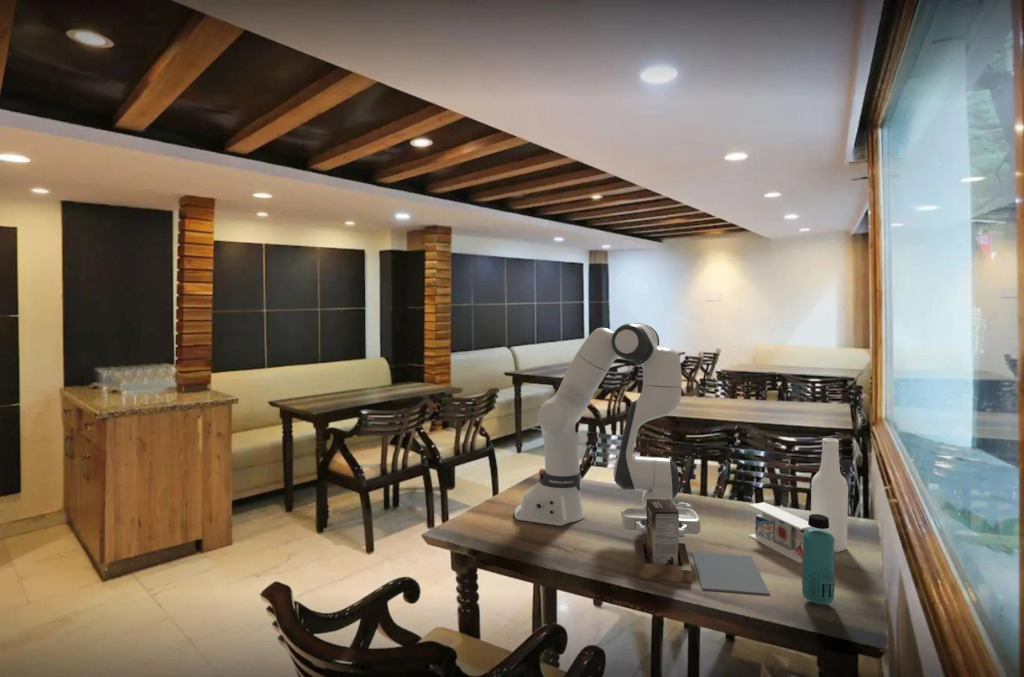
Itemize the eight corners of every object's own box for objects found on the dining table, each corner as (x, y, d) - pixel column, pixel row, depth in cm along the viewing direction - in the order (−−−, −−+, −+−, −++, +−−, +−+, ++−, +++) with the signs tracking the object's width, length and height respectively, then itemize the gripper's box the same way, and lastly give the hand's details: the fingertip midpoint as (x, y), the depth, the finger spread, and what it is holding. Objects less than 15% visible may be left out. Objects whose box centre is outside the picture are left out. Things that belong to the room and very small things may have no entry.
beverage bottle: (822, 614, 122) (824, 524, 121) (794, 600, 128) (796, 514, 127) (840, 606, 125) (842, 518, 124) (812, 593, 131) (814, 509, 130)
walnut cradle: (636, 578, 139) (636, 566, 139) (635, 550, 155) (635, 539, 155) (691, 582, 137) (691, 570, 137) (684, 554, 152) (684, 543, 152)
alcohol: (812, 550, 154) (814, 441, 152) (808, 537, 162) (810, 434, 161) (849, 555, 151) (852, 444, 149) (843, 542, 159) (846, 437, 157)
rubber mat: (702, 589, 133) (702, 587, 133) (691, 553, 153) (691, 551, 153) (769, 595, 131) (769, 593, 130) (750, 557, 150) (750, 555, 150)
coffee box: (645, 557, 150) (645, 498, 150) (669, 558, 150) (670, 498, 149) (653, 574, 141) (653, 510, 140) (679, 574, 141) (679, 511, 140)
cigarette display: (748, 536, 164) (748, 504, 164) (763, 533, 166) (764, 502, 165) (804, 565, 145) (804, 530, 145) (820, 562, 147) (821, 527, 146)
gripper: (621, 500, 160) (620, 518, 146) (696, 504, 156) (703, 523, 142) (621, 521, 160) (620, 541, 147) (696, 526, 156) (703, 547, 143)
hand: (662, 532), depth 144 cm, fingers open, 8 cm apart
